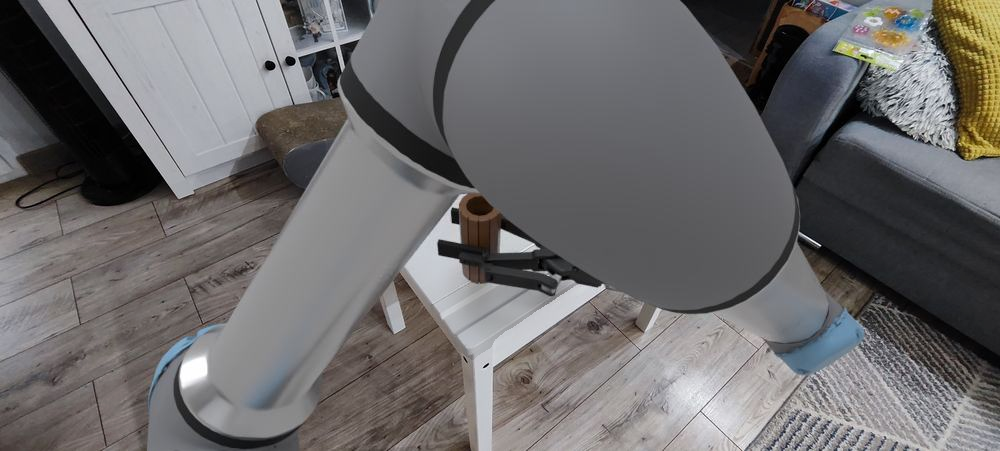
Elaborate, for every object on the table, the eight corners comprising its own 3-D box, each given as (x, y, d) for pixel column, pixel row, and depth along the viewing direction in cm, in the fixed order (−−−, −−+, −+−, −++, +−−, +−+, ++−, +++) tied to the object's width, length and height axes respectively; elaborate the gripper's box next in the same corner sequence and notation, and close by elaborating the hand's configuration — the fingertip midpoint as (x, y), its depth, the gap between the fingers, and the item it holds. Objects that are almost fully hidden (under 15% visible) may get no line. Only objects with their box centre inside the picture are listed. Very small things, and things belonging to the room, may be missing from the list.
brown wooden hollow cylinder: (478, 290, 68) (477, 227, 58) (455, 267, 71) (450, 203, 60) (505, 270, 71) (510, 207, 60) (482, 249, 73) (482, 185, 63)
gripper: (596, 334, 59) (426, 298, 62) (605, 230, 72) (463, 204, 75) (607, 302, 54) (421, 265, 57) (616, 196, 66) (462, 169, 69)
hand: (445, 230), depth 66 cm, fingers closed on brown wooden hollow cylinder, 6 cm apart
